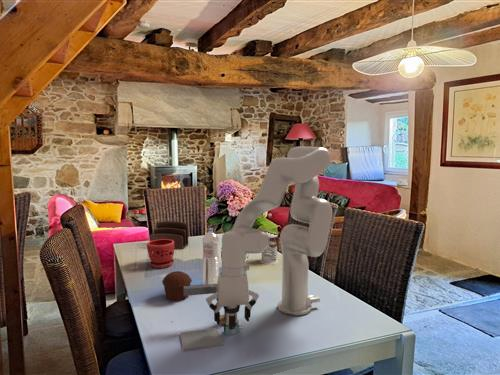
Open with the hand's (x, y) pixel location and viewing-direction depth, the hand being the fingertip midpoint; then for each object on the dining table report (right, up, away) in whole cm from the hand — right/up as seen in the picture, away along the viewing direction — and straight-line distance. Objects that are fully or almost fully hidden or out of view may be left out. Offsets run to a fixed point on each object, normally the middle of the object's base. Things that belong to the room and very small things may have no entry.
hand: (232, 321), depth 125 cm
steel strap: (-8, +8, +6) cm, 13 cm away
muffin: (-23, 0, +28) cm, 36 cm away
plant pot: (-38, +5, +66) cm, 77 cm away
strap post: (-2, -3, +8) cm, 9 cm away
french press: (+15, +5, +73) cm, 75 cm away
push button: (0, -4, +1) cm, 4 cm away
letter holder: (-41, +9, +100) cm, 108 cm away
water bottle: (-11, +1, +40) cm, 41 cm away
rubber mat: (-10, -4, -4) cm, 11 cm away
